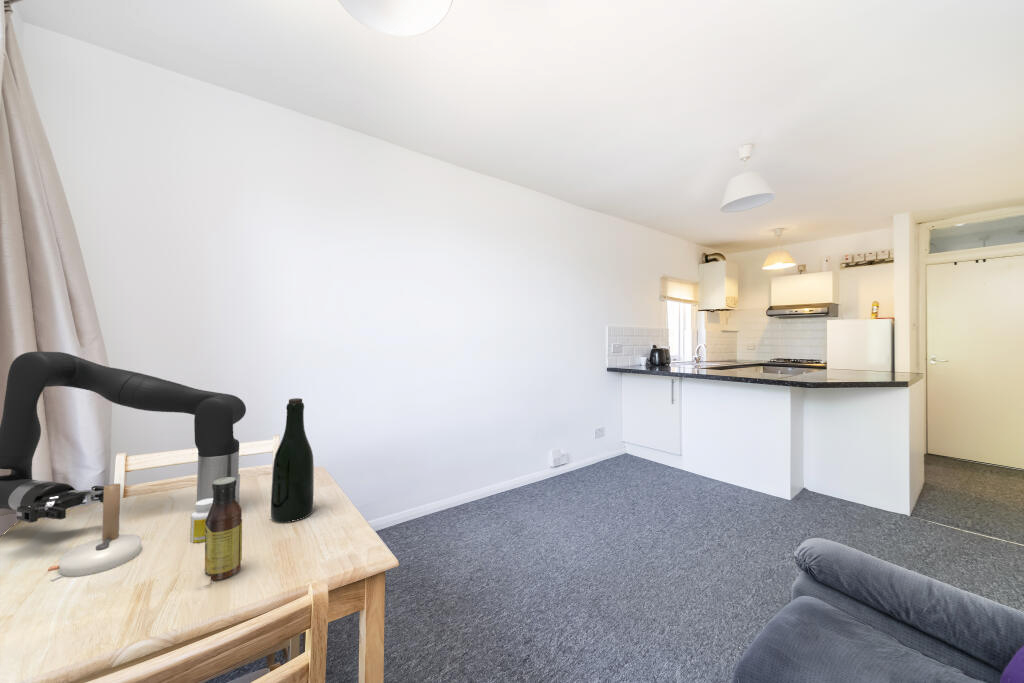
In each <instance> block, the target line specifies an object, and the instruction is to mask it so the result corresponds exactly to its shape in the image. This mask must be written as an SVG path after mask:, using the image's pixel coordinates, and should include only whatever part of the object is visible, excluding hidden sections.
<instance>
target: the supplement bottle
mask: <svg viewBox="0 0 1024 683" xmlns="http://www.w3.org/2000/svg"><path fill="white" fill-rule="evenodd" d="M212 504H213V498H209V499H204V500H200V501H198V502H197V501H196V502H195V504H194V509H195V511H194V512H192V514H191V516H190V533H189V542H190V543H191V544H201V543H205V521H206V518H207V516H208V513H209V511H210V509H211V506H212Z"/></svg>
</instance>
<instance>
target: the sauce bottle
mask: <svg viewBox="0 0 1024 683" xmlns="http://www.w3.org/2000/svg"><path fill="white" fill-rule="evenodd" d="M235 486H236V478H234V477H226V478H221V479H218V480H215V481H214V482H213V484H212V489H213V504H212V506H211V509H210V511H209V513H208V516H207V518H206V521H205V542H204V571H205V575H207V576H209V577H210V580H212V581H216V580H217V581H218V580H224V579H226V578H230V577H232V575H234V574H236V573H237V572H239V571H240V569H241V564H242V560H243V519H242V517H243V516H242V513H243V512H242V511H243V509H242V507H241V505H240V502H239V503H238V502H237V501H236V500H235V498H236V496H235Z"/></svg>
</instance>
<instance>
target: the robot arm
mask: <svg viewBox="0 0 1024 683" xmlns="http://www.w3.org/2000/svg"><path fill="white" fill-rule="evenodd" d="M46 387H48V388H50V387H69V388H75V389H80V390H86V391H90V392H93V393H95V394H98V395H99V396H101V397H102V398H104V399H106V400H107V401H109V402H111V403H113V404H115V405H120V406H124V407H127V408H131V409H135V410H141V411H146V412H147V411H148V412H157V413H178V414H179V413H180V414H181V413H182V414H189V415H193V416H194V418H193V420H194V421H193V422H194V423H193V426H194V444H195V446H196V447H195V448H197V476H196V477H197V479H196V480H197V481H196V502H198V501H200V500H204V499H209V498H213V489H212V484H213V482H214V481H215V480H218V479H221V478H226V477H234V478H236V486H235V496H236V498H235V500H236V501H237V502H238V503H239V504H240V493H241V491H240V490H241V486H240V485H241V483H240V482H241V474H239V465H240V441H239V440H238V439H236V438H235V437H234V425H235V424H236V423H238V422H240V421H241V420H242V419H243V418H244V416H246V414H247V413H246V412H247V406H246V404H245V402H244V401H243V400H242V399H241V398H239V397H238V396H236V395H233V394H228V393H222V392H215V391H209V390H203V389H199V388H196V387H195V388H194V387H191V386H187V385H185V384H181V383H178V382H174V381H170V380H167V379H163V378H159V377H158V376H157V377H156V376H153V375H148V374H145V373H142V372H141V373H140V372H136V371H132V370H126V369H123V368H122V369H121V368H117V367H111V366H105V365H101V364H99V363H97V362H93V361H90V360H87V359H85V358H81V357H79V356H76V355H73V354H71V353H66V352H61V351H29V352H28V351H27V352H24V353H22V354H20V355H18V356H16V357H15V358H14V360H13V361H12V362H11V364H10V367H9V369H8V374H7V380H6V389H5V395H4V400H3V401H4V403H3V410H2V417H1V420H0V421H1V422H0V470H10V473H9V474H5V475H0V509H3V510H4V509H6V510H9V511H14V512H16V520H20V521H23V522H26V523H36V522H38V521H39V519H42V520H48V519H53V520H59V521H60V520H64V519H65V518H66V517H67V515H66V514H67V510H69V509H75V508H76V507H87V506H90V505H92V504H94V503H95V504H96V503H101V504H103V498H104V486H101V485H93V486H91V489H84V490H78V489H75V488H74V487H73V486H72V485H70V484H67V483H63V482H57V481H50V480H38V479H37V480H36V479H33V459H34V456H35V453H36V450H37V448H38V446H39V442H40V439H41V435H42V426H41V422H40V418H39V414H38V403H39V399H40V396H41V395H42V394H43V391H44V389H45V388H46ZM85 499H86V501H85Z"/></svg>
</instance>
